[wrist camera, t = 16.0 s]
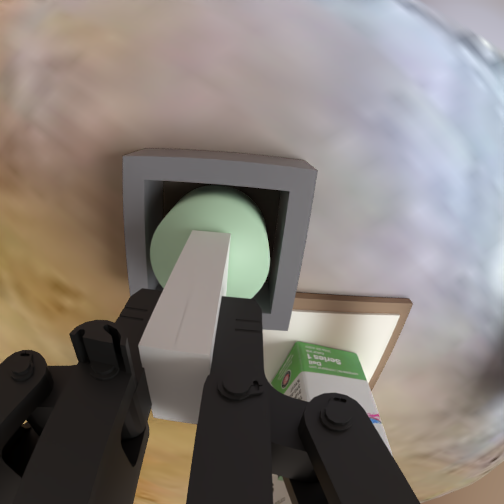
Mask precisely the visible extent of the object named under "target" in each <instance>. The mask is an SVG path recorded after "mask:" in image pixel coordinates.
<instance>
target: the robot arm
mask: <svg viewBox="0 0 504 504" xmlns="http://www.w3.org/2000/svg"><path fill="white" fill-rule="evenodd" d="M230 238H231V233H220V232H209V231H197V230H192V232H191V234H190V236H189V238H188V240H187V242H186V244H185V246H184V248H183V250H182V252H181V254H180V256H179V258H178V260H177V262H176V264H175V266H174V268H173V270H172V272H171V275H170V277H169V279H168V281H167V283H166V285H165V287H164V289H163V291H161V290H153V289H145V288H142V289H140V290H139V291H137V292H136V293H135V294H133V295H132V296H131V297H130V298H129V300H128V302H127V303H126V305H125V308H124V309H123V310H122V312H121V314H120V317H118V319H117V321H116V322H115V323H114V322H111V321H108V320H94V321H89V322H85V323H83V324H81V325H79V326H77V327H76V328H75V329H74V330H73V331H72V332H71V333H70V338H71V341H72V344H73V347H74V350H75V353H76V356H77V358H78V361H79V362H78V364H77V365H72V366H47V363H46V361H45V359H44V358H43V357H42V356H41V354H40V353H38V352H35V351H32V350H22V351H19V352H15V353H14V354H12V355H11V356H9V357H8V358H6V359H5V360H4V361H3V362H2V363H1V364H0V504H133V501H134V497H135V492H136V488H137V483H138V479H139V475H140V470H141V466H142V462H143V458H144V454H145V450H146V446H147V442H148V438H149V425H148V422H147V420H148V417H149V413H150V410H151V409H152V413H153V417H154V418H160V419H166V420H172V421H178V422H185V423H192V424H197V430H196V437H195V444H194V451H193V457H192V464H191V472H190V479H189V486H188V494H187V501H186V504H273V483H272V474H275V475H279V476H282V478H283V481H284V483H285V486H286V489H287V492H288V494H289V497H290V500H291V503H292V504H420V502H419V500H418V499H417V497H416V495H415V494H414V492H413V490H412V489H411V487H410V485H409V483H408V482H407V480H406V478H405V477H404V475H403V473H402V472H401V470H400V468H399V466H398V465H397V463H396V461H395V460H394V458H393V456H392V455H391V453H390V451H389V450H388V448H387V446H386V445H385V443H384V441H383V440H382V438H381V436H380V435H379V433H378V431H377V430H376V428H375V426H374V425H373V423H372V421H371V420H370V418H369V416H368V415H367V413H366V411H365V410H364V408H363V407H362V406H361V405H360V404H359V403H358V402H357V401H356V400H354V399H353V398H351V397H349V396H347V395H344V394H340V393H323V394H321V395H318V396H316V397H314V398H313V399H312V400H311V401H310V402H307V401H303V400H300V399H296V398H293V397H290V396H287V395H284V394H282V393H280V392H279V391H277V390H276V389H274V387H273V386H272V385H271V384H270V383H269V382H268V380H267V378H266V377H265V372H264V353H263V333H262V332H263V327H262V309H261V308H260V306H259V305H258V303H257V302H256V300H255V299H249V298H237V297H227V296H226V292H227V278H228V264H229V251H230ZM25 420H27V421H28V422H27V423H25V424H23V423H24V421H25Z"/></svg>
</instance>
